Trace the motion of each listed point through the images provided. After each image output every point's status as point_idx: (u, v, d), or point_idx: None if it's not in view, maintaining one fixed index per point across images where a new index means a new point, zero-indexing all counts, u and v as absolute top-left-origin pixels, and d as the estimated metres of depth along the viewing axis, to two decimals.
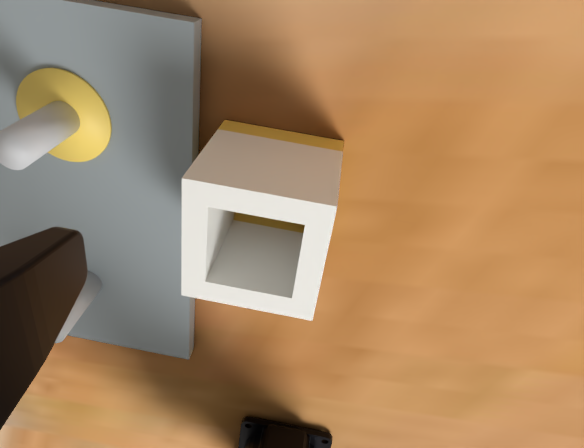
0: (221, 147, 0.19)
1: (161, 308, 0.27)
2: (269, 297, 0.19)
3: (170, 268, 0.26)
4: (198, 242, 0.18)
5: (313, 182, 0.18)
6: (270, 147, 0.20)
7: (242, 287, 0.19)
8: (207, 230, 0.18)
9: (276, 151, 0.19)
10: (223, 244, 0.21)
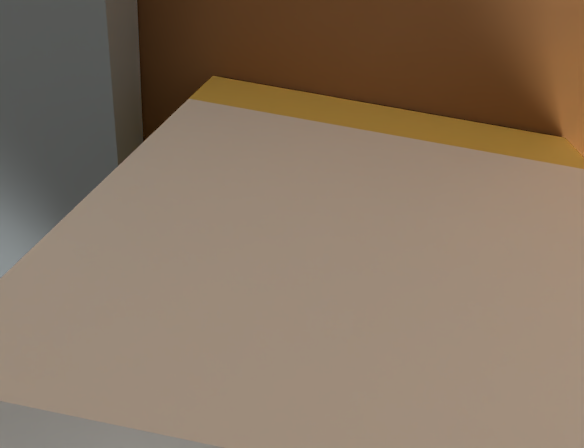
0: (194, 159, 0.05)
1: None
2: None
3: None
4: None
5: None
6: (371, 158, 0.06)
7: None
8: None
9: (398, 174, 0.05)
10: None
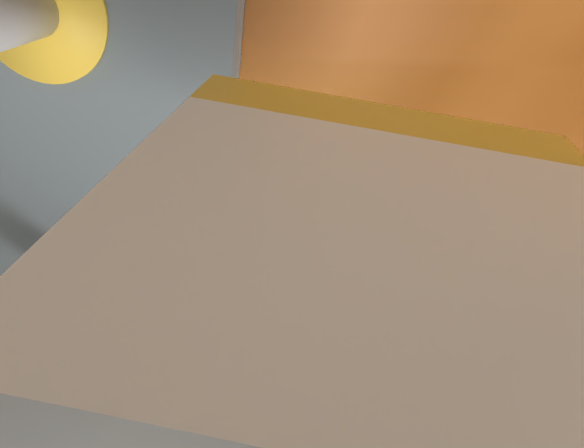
0: (195, 157, 0.05)
1: None
2: None
3: None
4: None
5: None
6: (371, 155, 0.06)
7: None
8: None
9: (398, 172, 0.05)
10: None
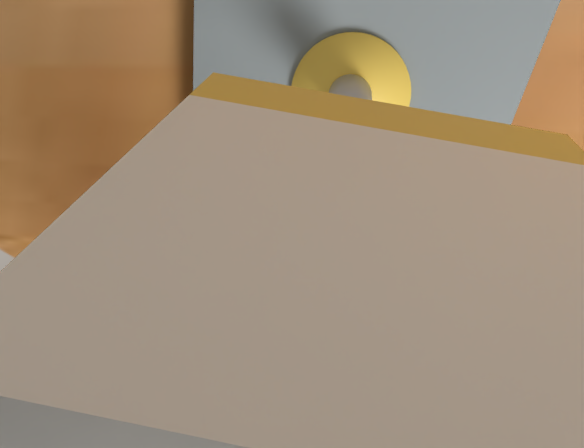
0: (195, 155, 0.05)
1: None
2: None
3: None
4: None
5: None
6: (373, 154, 0.06)
7: None
8: None
9: (400, 170, 0.05)
10: None
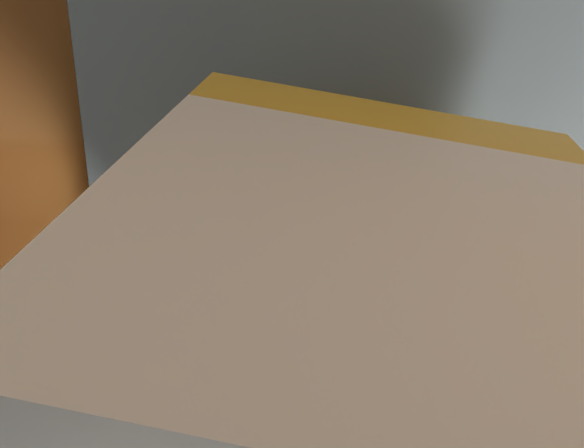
0: (194, 154, 0.05)
1: None
2: None
3: None
4: None
5: None
6: (372, 153, 0.06)
7: None
8: None
9: (400, 169, 0.05)
10: None
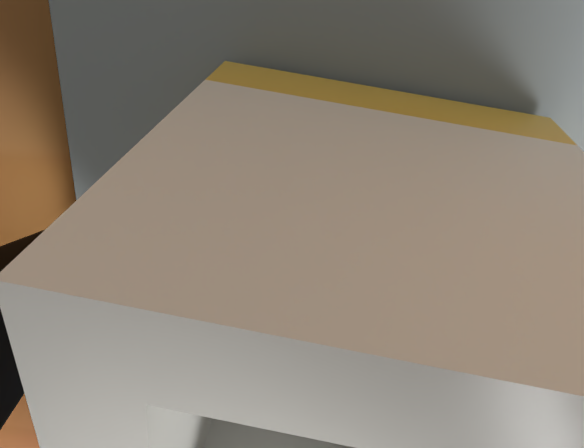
0: (214, 129, 0.06)
1: None
2: None
3: None
4: None
5: None
6: (371, 131, 0.06)
7: None
8: None
9: (396, 144, 0.06)
10: None
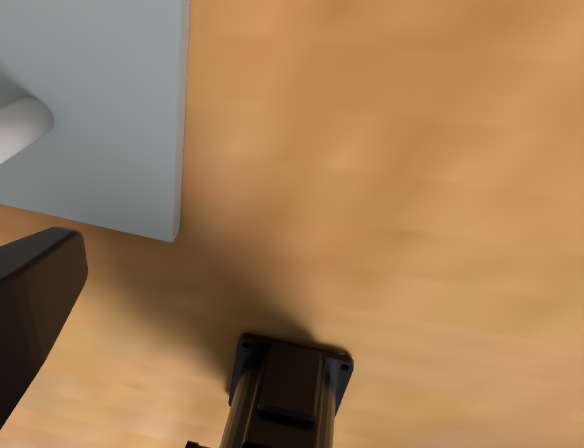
0: None
1: (136, 160, 0.20)
2: None
3: (149, 90, 0.18)
4: None
5: None
6: None
7: None
8: None
9: None
10: None
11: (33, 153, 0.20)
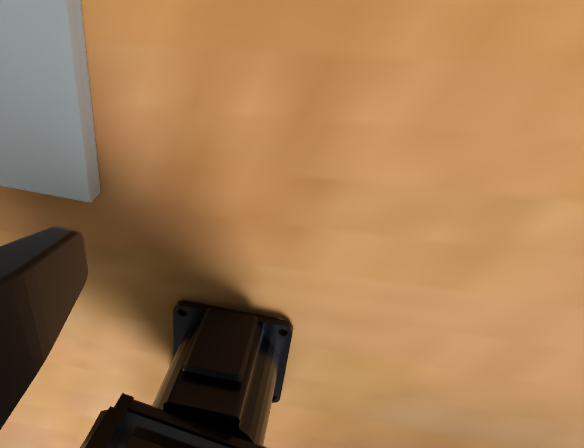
0: None
1: (41, 113, 0.19)
2: None
3: (42, 36, 0.18)
4: None
5: None
6: None
7: None
8: None
9: None
10: None
11: None
